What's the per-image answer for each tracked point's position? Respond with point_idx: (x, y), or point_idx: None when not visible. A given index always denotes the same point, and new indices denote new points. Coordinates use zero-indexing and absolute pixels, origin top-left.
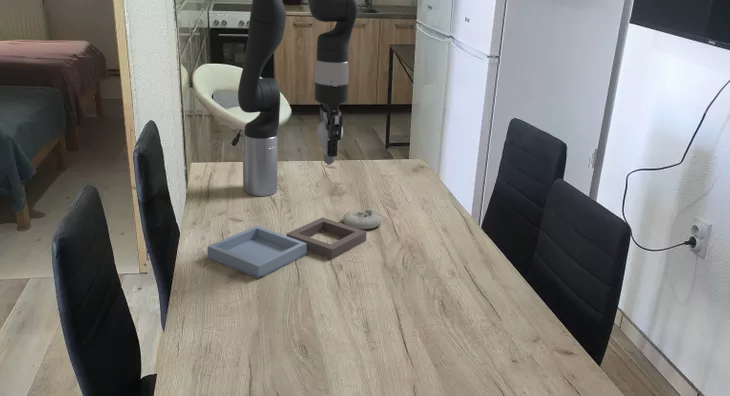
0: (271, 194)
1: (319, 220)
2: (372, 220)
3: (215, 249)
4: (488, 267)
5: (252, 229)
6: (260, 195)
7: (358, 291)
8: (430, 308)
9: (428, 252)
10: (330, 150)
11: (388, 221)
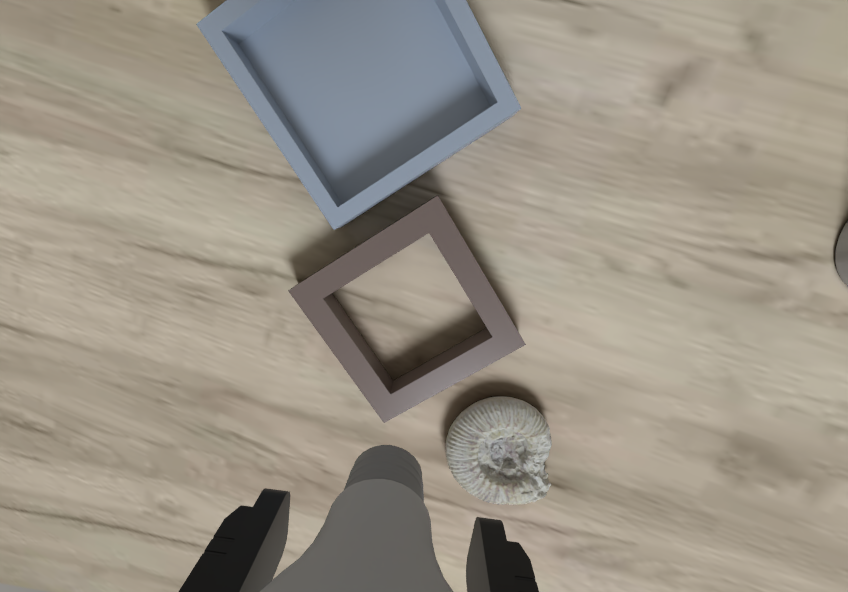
0: (836, 265)
1: (504, 328)
2: (455, 466)
3: None
4: None
5: (493, 83)
6: (846, 225)
7: (111, 282)
8: (17, 398)
9: None
10: (215, 539)
11: (487, 504)
